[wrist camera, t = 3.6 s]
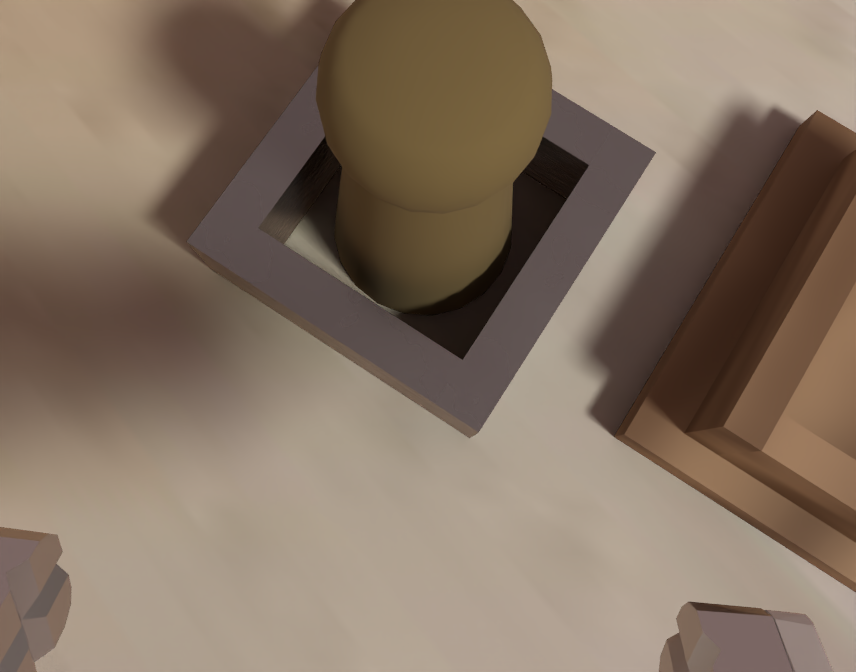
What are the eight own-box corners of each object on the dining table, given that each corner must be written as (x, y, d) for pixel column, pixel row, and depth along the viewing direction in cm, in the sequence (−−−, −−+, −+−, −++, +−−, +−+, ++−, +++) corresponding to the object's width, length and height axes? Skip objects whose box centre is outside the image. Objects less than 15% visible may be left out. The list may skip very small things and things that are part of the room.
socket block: (211, 269, 26) (186, 241, 23) (381, 37, 28) (379, -17, 25) (469, 438, 25) (478, 432, 22) (628, 188, 27) (655, 152, 24)
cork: (356, 128, 27) (324, -109, 16) (527, 165, 27) (610, -49, 16) (315, 294, 26) (252, 159, 15) (493, 332, 26) (559, 225, 15)
